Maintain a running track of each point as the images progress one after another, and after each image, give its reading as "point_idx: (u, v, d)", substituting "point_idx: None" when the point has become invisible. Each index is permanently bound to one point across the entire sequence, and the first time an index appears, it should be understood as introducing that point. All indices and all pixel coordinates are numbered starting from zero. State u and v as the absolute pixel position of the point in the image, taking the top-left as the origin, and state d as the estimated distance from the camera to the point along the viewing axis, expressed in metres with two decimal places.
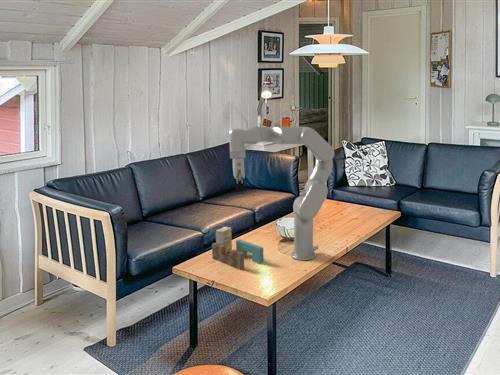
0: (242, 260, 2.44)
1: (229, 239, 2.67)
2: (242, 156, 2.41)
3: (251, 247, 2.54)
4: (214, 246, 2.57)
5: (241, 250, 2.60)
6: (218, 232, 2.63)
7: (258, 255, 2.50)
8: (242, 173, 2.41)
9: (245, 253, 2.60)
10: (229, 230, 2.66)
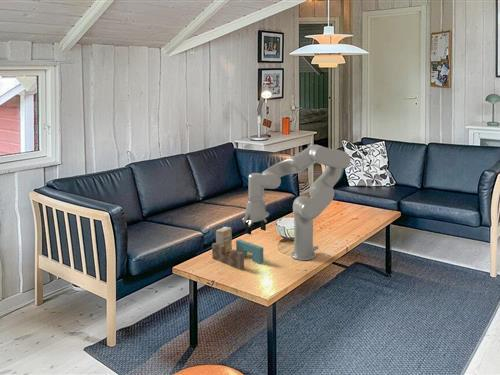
0: (242, 260, 2.44)
1: (229, 239, 2.67)
2: None
3: (251, 247, 2.54)
4: (214, 246, 2.57)
5: (241, 250, 2.60)
6: (218, 232, 2.63)
7: (258, 255, 2.50)
8: None
9: (245, 253, 2.60)
10: (229, 230, 2.66)
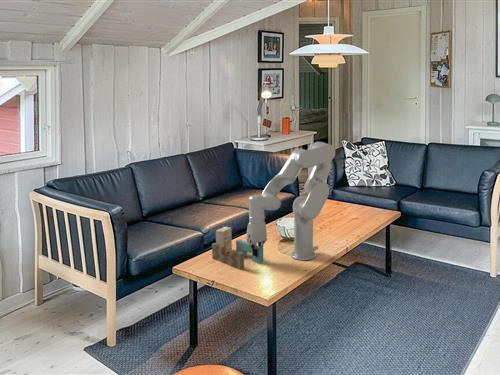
0: (242, 260, 2.44)
1: (229, 239, 2.67)
2: None
3: None
4: (214, 246, 2.57)
5: (241, 250, 2.60)
6: (218, 232, 2.63)
7: (258, 255, 2.50)
8: None
9: (245, 253, 2.60)
10: (229, 230, 2.66)
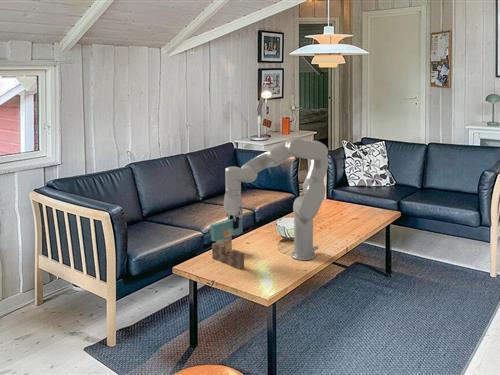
0: (242, 260, 2.44)
1: (229, 239, 2.67)
2: None
3: None
4: (214, 246, 2.57)
5: (220, 232, 2.45)
6: None
7: (241, 225, 2.53)
8: None
9: None
10: (229, 230, 2.66)
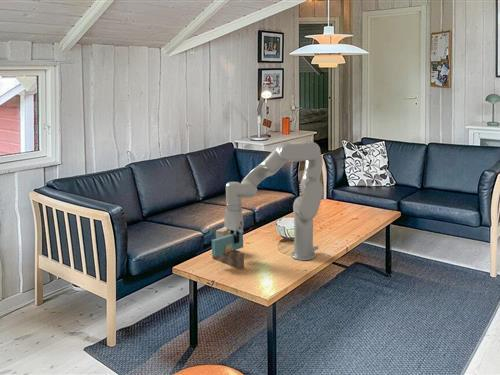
0: (242, 260, 2.44)
1: None
2: None
3: (233, 236, 2.51)
4: None
5: (221, 247, 2.47)
6: (218, 232, 2.63)
7: (241, 239, 2.55)
8: None
9: None
10: None
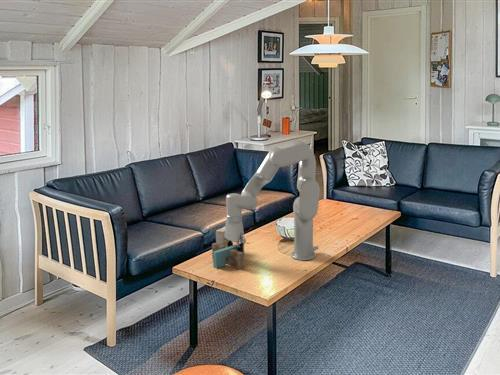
0: (242, 260, 2.44)
1: None
2: None
3: (234, 248, 2.52)
4: (214, 246, 2.57)
5: (222, 259, 2.48)
6: (218, 232, 2.63)
7: None
8: None
9: None
10: None
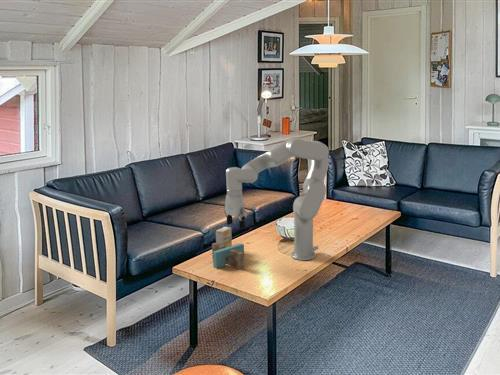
0: (242, 260, 2.44)
1: (229, 239, 2.67)
2: None
3: (234, 248, 2.52)
4: (214, 246, 2.57)
5: (222, 259, 2.48)
6: (218, 232, 2.63)
7: (242, 251, 2.56)
8: None
9: None
10: (229, 230, 2.66)
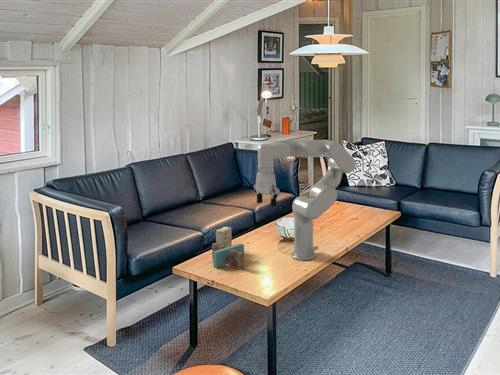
0: (242, 260, 2.44)
1: (229, 239, 2.67)
2: None
3: (234, 248, 2.52)
4: (214, 246, 2.57)
5: (222, 259, 2.48)
6: (218, 232, 2.63)
7: (242, 251, 2.56)
8: None
9: None
10: (229, 230, 2.66)
